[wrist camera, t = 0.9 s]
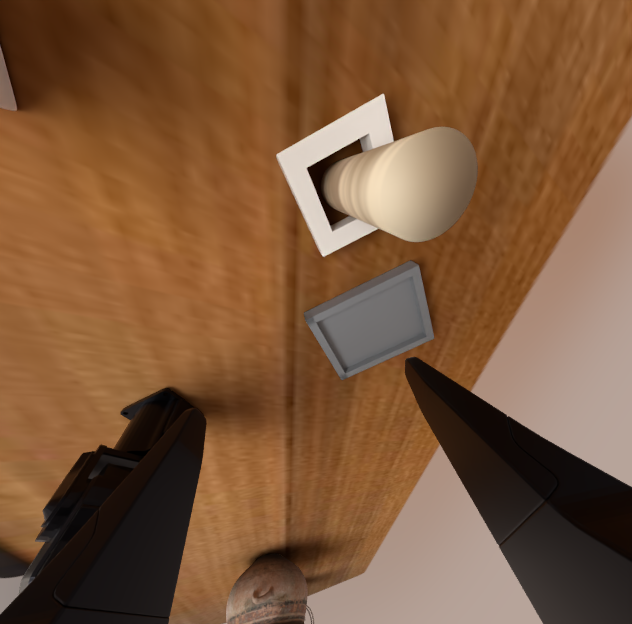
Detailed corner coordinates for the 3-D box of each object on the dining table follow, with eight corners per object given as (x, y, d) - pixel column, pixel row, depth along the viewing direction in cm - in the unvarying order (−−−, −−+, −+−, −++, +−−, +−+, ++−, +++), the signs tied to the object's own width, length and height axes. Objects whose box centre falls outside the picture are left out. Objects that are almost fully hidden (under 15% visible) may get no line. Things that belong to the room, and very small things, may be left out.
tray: (338, 371, 28) (341, 380, 27) (303, 312, 23) (305, 320, 22) (426, 331, 27) (434, 338, 26) (410, 260, 22) (418, 265, 21)
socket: (319, 250, 20) (323, 256, 19) (276, 157, 16) (276, 154, 15) (397, 210, 20) (408, 213, 18) (372, 103, 16) (383, 93, 14)
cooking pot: (220, 551, 52) (206, 644, 42) (301, 533, 54) (307, 617, 44) (242, 579, 65) (235, 655, 54) (306, 563, 67) (312, 634, 56)
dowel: (330, 217, 19) (395, 257, 9) (313, 174, 17) (368, 160, 7) (368, 197, 19) (479, 215, 9) (354, 151, 17) (474, 103, 7)
